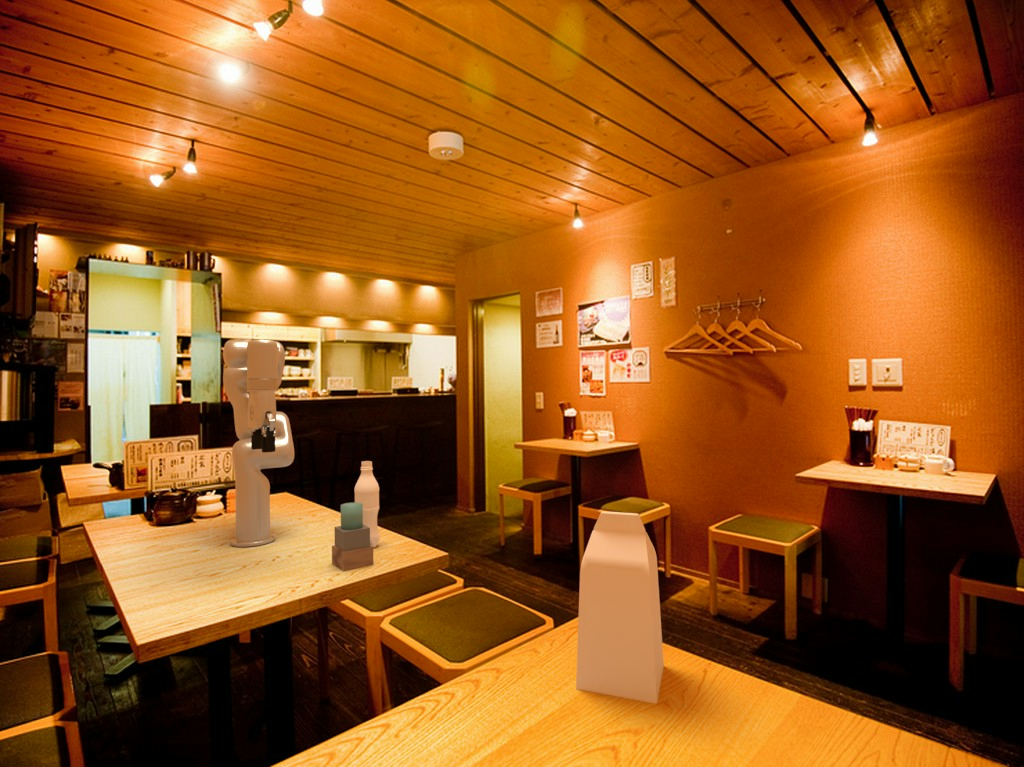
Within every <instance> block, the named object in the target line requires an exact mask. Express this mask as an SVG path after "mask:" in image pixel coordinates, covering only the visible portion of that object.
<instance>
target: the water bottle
mask: <svg viewBox="0 0 1024 767" xmlns="http://www.w3.org/2000/svg"><path fill="white" fill-rule="evenodd" d="M373 470H374V468H373V461H371V460H365V461H364V460H363V461H361V466H360V475H359V477H358V479H357V482H356V483H355V486H354V488H353V489H354V491H353V492H354V502H357V503H362V504H363V525H365V526H367V527H369V528H370V545H371V546H373V549H374V548H376V547H377V546H378V543H379V541H380V537H381V534H380V531H379V528H378V514H379V510H380V508H381V507H380V486H379V483H378V481H377V479H376V477H375V476H374V473H373Z"/></svg>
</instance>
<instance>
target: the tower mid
mask: <svg viewBox="0 0 1024 767" xmlns="http://www.w3.org/2000/svg"><path fill="white" fill-rule="evenodd" d="M334 545H335V546H336V547H337V548H339V549H340V550H342V551H343V552H346V551H351V550H356V549H361V548H367V547H370V528H369V527H367V526H365V525H363V527H362V528H360V529H355V530H343V529H341V525H339V526H334Z"/></svg>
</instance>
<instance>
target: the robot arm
mask: <svg viewBox="0 0 1024 767" xmlns="http://www.w3.org/2000/svg"><path fill="white" fill-rule="evenodd" d="M284 348H285V347H284V346H283V344H282V343H280V341H275V340H272V339H244V340H243V339H242V340H227V341H226V342H225V343H224V346H223V351H222V358H223V361H224V364H225V366H226V368H225V369H224V371H223V376H222V377H223V378H222V381H223V388H224V391H225V394H226V396H227V398H228V400H229V402H230V404H231V405H232V409H233V419H234V420H233V421H234V427H235V429H234V430H235V433H236V437H237V438H238V440H237V441H236V442H235V443H234V444H233V445H232V449H231V458H232V463H233V470H234V481H235V536H234V537H232V538H231V539H230V540H229V545H230V546H232V547H238V548H242V547H243V548H245V547H247V548H248V547H256V546H257V547H258V546H262V545H267V544H269V543H272V542H274V541H275V540H276V538H277V537H276V534H275V533H272V532H271V498H270V496H271V491H270V490H271V485H270V481H269V479H268V478H267V476H265V475H264V473H262V471H261V470H265V469H275V468H285V467H288V466H290V465H291V464H292V463H293V462H294V459H295V447H294V441H293V435H292V429H291V424H290V419H289V417H288V415H287V414H286V413H284V412H283V411H277V402H276V401H277V400H276V399H277V398H276V392H279V387H281V386H280V385H281V383H282V379H283V373H284V368H285V362H286V351H285V349H284Z"/></svg>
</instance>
